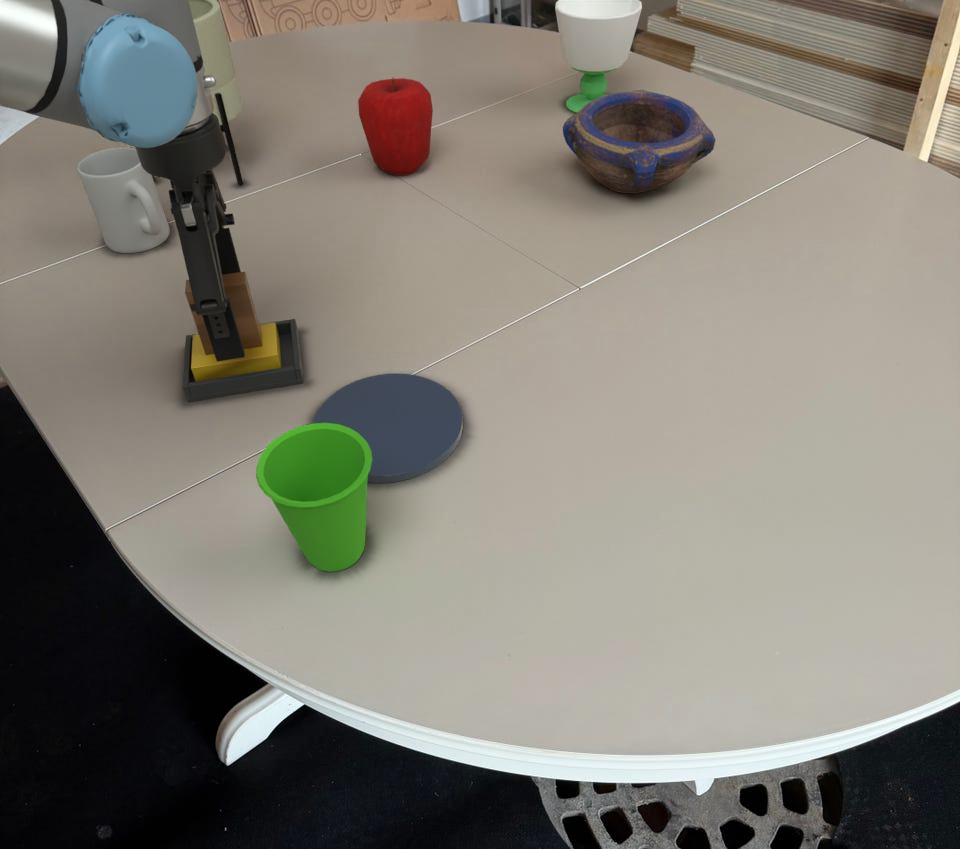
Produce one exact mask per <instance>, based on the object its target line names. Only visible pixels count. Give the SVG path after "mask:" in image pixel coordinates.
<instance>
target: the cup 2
mask: <svg viewBox="0 0 960 849" xmlns="http://www.w3.org/2000/svg"><path fill="white" fill-rule="evenodd" d="M554 9H555V16H556V21H557V22H556V23H557V29H558V35H559V41H560V47H561V53H562V58H563V60H564V61H565V63H566V65H568V66H569V67H570V68H571V69H573V70H575V71H577V72H579V73H582V76H581V78H580V82H579V88H580V92H581V93H578V94H575V95H572V96H570V97H569V98H568V99H567V100H566V101H565V107H566V108H567V109H568V110H569V111H571V112H573V113H574V114H576V113H577V112H578V111H579V110H580V109H581V108H582V107H583V106H584V105H586V104H587V103H589V102H591V101H593V100H595V99H597V98H599V97H602V96H605V95H608V94H607V93H605V92H606V91H607V88H608V79H607V76H606V75H605V74H608V73H610V72H612V71H615V70H617V69H619V68H620V67H622V66H623V65H624V64H625V62H626V61H627V60H628V58H629V56H630V52H631V48H632V45H633V41H634V39H635V38H634V37H635V34H636V31H637V27H638V23H639V20H640V18H641V17H640V16H641V13H642V10H643V4H642V1H641V0H557V1H556V2H555V5H554Z"/></svg>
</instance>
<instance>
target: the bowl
mask: <svg viewBox="0 0 960 849" xmlns="http://www.w3.org/2000/svg"><path fill="white" fill-rule="evenodd" d="M562 136H563V138H564V141H565V143H566V145H567V146H568V147H569V149H570V150H571V152H573V154H574V155H575V156H576V157H577V159H578V160H579V161H580V163H581V164H582V165H583V167H584V168H585V169H586V170H587V172H588V174H589V175H590V176H591V177H593V179H595V181H597V182H599V183H600V184H602V185H603V186H604V187H606V188H608V189H610V190H611V191H614V192H618V193H623V194H639V193H644V192H649V191H652V190H655V189H658V188H660V187H663V186H666V185H668V184H670V183H672V182H674V181H676V180H677V179H679V178H681V177H682V176H683V175H685V174H686V173H687V172H688V171H689V170H690V169H691V168H692V166H693V165H694V164H695V163H697V162H699V161H700V160H701V159H704V158H705V157H707V156H708V155H709V154H711V153H712V151H713V150H714V149H715V146H716V137H715V135H714V133H713V131H712V130H711V129H710V128H709V126H707V125H706V123H705V121H703V119H702V118H701V116H700V115H699V114H698V112H697V111H696V110H695V109H694V108H693V107H692V106H690V105H689V104H687V103H686V102H684V101H682V100H680V99H677V98H675V97H672V96H670V95H665V94H662V93H657V92H654V91H650V90H646V89H636V90H635V89H634V90H627V91H621V92H613V93H608V94H607V95H605V96H602V97H599V98H597V99H595V100H593V101H591V102H589V103H587V104H586V105H584V106H583V107H582V108H581V109H580V110H579V111H578V112H577V113H574V114H573V115H571V116H570V117H568V118H567V119H566V121H565V122H564V123H563V125H562Z"/></svg>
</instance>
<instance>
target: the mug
mask: <svg viewBox="0 0 960 849" xmlns="http://www.w3.org/2000/svg"><path fill="white" fill-rule="evenodd" d="M76 168H77V169H76V170H77V174H78V176H79V178H80V180H81V184H82V187H83V189H84V191H85V194H86V197H87V200H88V202H89V204H90V206H91V209H92V212H93V214H94V217H95V220H96V222H97V225H98V227H99V231H100V234H101V236H102V239H103V241H104V244H105V245H106V247H107V248H108V249H109V250H111V251H112V252H115V253H118V254H136V253H137V254H138V253H142V252H147V251H150V250H152V249H154V248H157V247H158V246H160V245H161V244H163V243H164V242H165V241H166V240H167V239H168V238H169V236H170V231H171V229H170V225H169V222H168V219H167V216H166V214H165V211H164V208H163V206H162V202H161V199H160V196H159V193H158V190H157V187H156V184H155V183H156V182H154V180H153V177H152V175H151V174H149V173H148V172H146V171H145V170H144V169H143V167H142V166H141V163H140V160H139V157H138V154H137V151H136V148H135V147H125V146H122V147H121V146H120V147H112V148H107V149H102V150H99V151H96V152H94V153H91V154H89V155H87V156H85V157H83V159H81V160H79V163H78V164H77V167H76Z"/></svg>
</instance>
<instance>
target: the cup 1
mask: <svg viewBox="0 0 960 849" xmlns="http://www.w3.org/2000/svg"><path fill="white" fill-rule="evenodd" d="M371 464H372V452H371V449H370V447H369V445H368V443H367V441H366V440H365V439H364V438H363V437H362V436H361V435H360V434H359V433H357V432H356V431H354V430H352V429H351V428H348V427H345V426H342V425H339V424H331V423H315V424H313V423H309V424H303V425H300V426H297V427H295V428H293V429H289V430H288V431H285V432H284V433H282V434H281V435H279V436H277V437H276V438H274V439H273V440H272V441H271V442H270V443H269V444H268V445H267V446H266V447H265V449H264V450H263V452H262V453H261V454H260V456H259V459H258V462H257V464H256V468H255V469H256V472H255V477H256V481H257V484H258V487H259V489H261V491H262V492H263V494H264V495H265V496H267V497H268V498H269V499H271V501H272V502H273V504H274V506H275V508H276V509H277V511H278V513H279V514H280V517H281V518H282V519H283V522H284V523H285V525H286V526H287V528H288V530H289V532H290V533H291V535H292V537H293V538H294V540H295V542H296V544H297V546H298V547H299V549H300V550H301V552H302V554H303V556H304V557H305V559H306V561H307V562H308V563H309V564H310V565H311V566H313V567H314V568H316V569H317V570H320V571H323V572H329V573H334V572H341V571H344V570H347V569H348V568H351V567H352V566H354V565H355V564H356V563H357V562H358V560H359V559H361V556H362V554H363V552H364V550H365V546H366V534H367V532H366V531H367V530H366V529H367V505H368V504H367V503H368V502H367V501H368V482H367V479H368V473H369V471H370V468H371Z"/></svg>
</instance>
